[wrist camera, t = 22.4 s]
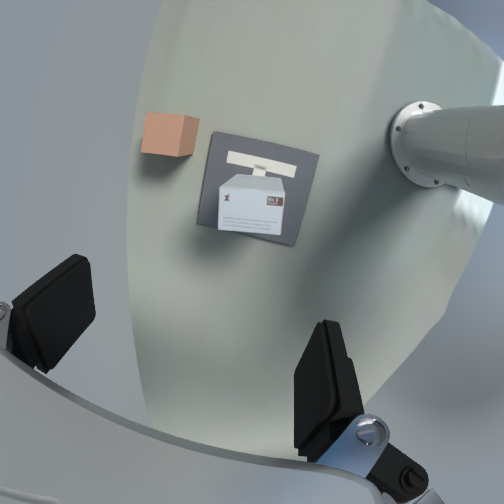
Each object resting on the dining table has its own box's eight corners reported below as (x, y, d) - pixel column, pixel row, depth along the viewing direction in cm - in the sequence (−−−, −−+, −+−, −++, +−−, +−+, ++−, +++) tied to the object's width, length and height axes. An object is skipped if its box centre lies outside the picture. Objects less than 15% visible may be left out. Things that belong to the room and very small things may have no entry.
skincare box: (234, 204, 36) (213, 234, 25) (236, 171, 35) (215, 186, 23) (280, 208, 36) (280, 240, 25) (283, 175, 34) (285, 192, 23)
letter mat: (318, 154, 33) (319, 155, 33) (294, 244, 38) (294, 246, 38) (214, 131, 33) (213, 131, 33) (198, 221, 38) (197, 223, 38)
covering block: (199, 118, 33) (184, 115, 27) (193, 153, 35) (177, 156, 29) (166, 115, 33) (146, 112, 27) (160, 149, 35) (140, 152, 29)
